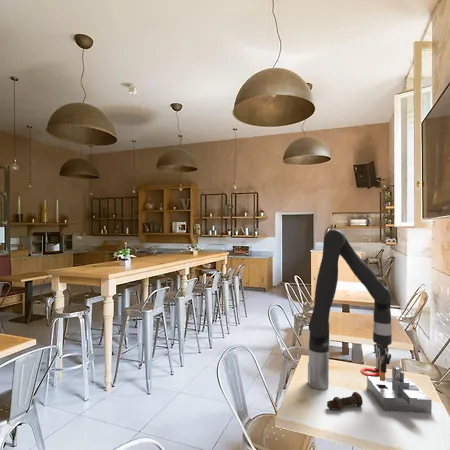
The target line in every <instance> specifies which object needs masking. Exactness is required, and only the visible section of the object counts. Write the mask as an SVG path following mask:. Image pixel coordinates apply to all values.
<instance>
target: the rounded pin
mask: <svg viewBox="0 0 450 450" xmlns="http://www.w3.org/2000/svg"><path fill="white" fill-rule="evenodd" d="M379 377H380V381H385V377H386V373H382V372H381V363H380V375H379Z"/></svg>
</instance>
